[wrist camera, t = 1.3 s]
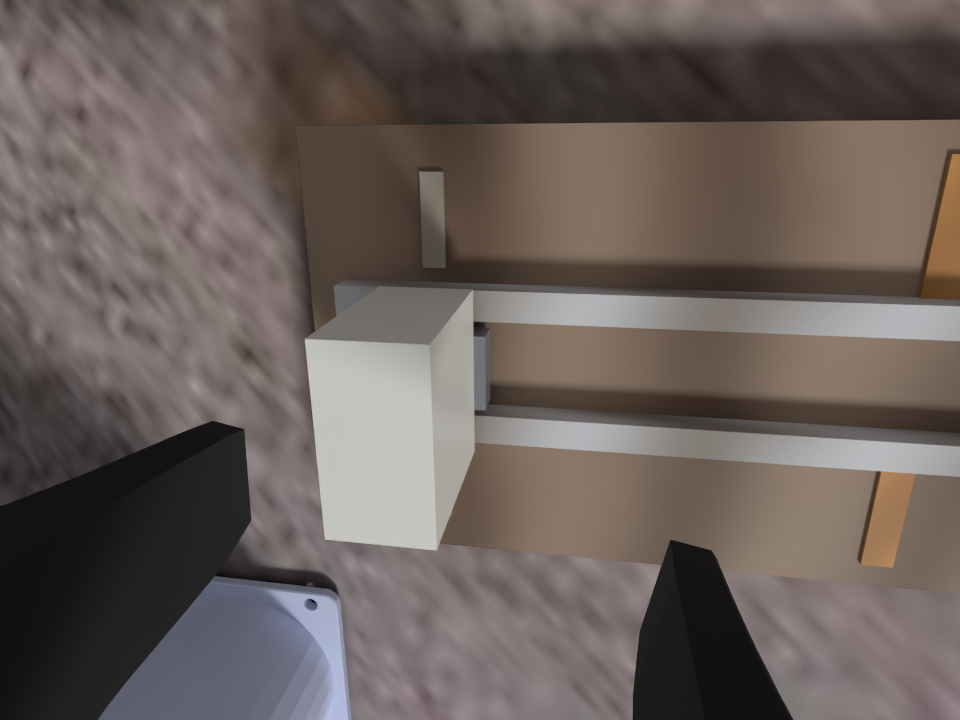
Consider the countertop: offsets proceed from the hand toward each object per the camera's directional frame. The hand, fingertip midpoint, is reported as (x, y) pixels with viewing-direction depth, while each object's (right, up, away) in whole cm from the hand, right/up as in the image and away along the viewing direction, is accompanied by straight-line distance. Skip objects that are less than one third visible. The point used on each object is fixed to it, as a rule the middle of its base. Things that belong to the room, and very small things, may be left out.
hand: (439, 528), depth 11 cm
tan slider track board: (+6, +3, +8) cm, 11 cm away
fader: (-1, +3, +7) cm, 7 cm away
